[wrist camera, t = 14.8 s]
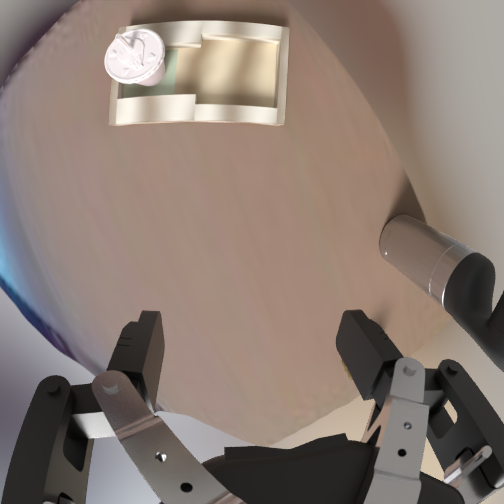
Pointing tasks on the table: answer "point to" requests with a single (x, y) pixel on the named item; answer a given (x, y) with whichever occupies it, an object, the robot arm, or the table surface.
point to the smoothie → (136, 57)
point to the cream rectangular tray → (210, 76)
